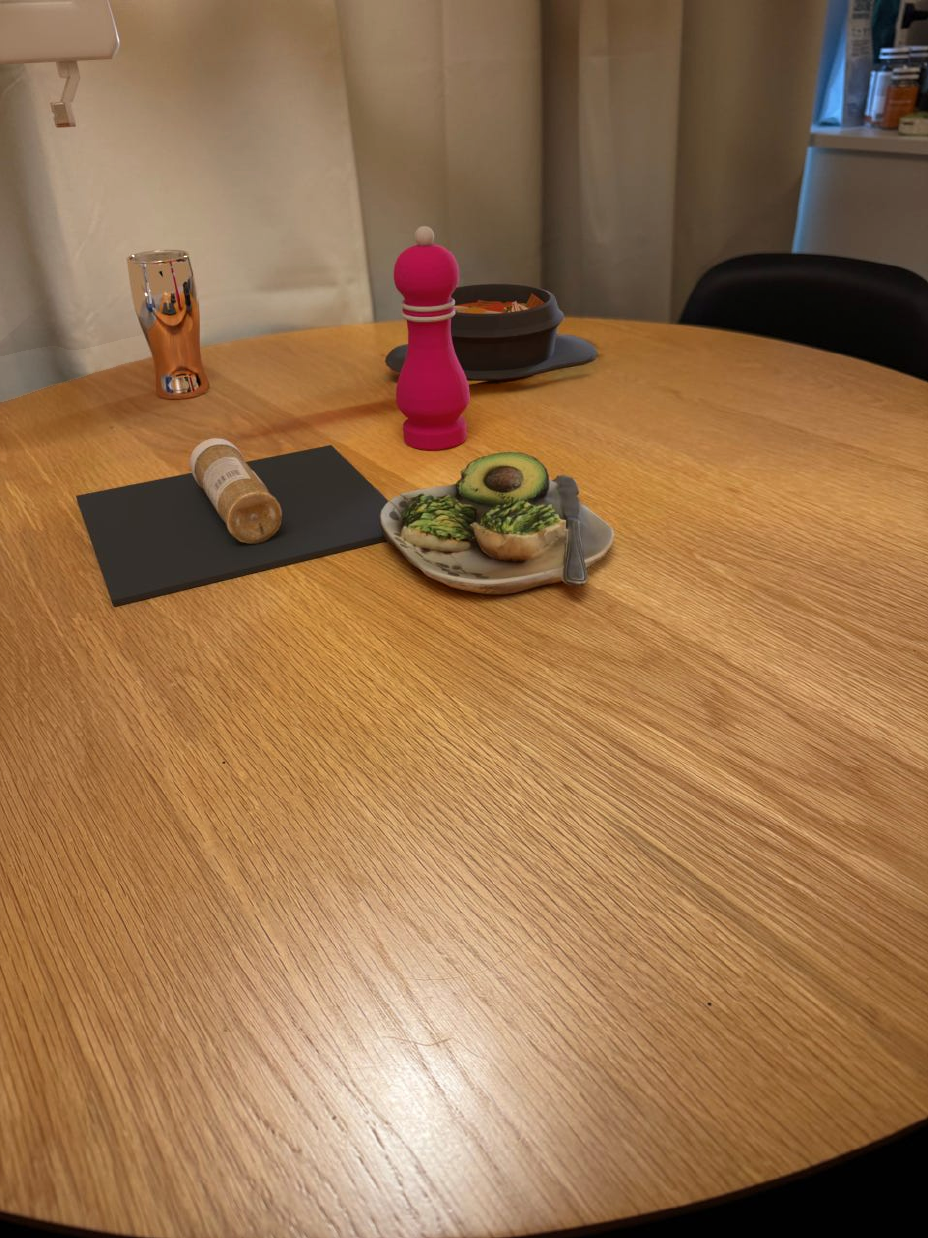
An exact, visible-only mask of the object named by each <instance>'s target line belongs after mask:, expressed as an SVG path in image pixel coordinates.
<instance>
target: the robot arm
mask: <svg viewBox="0 0 928 1238" xmlns="http://www.w3.org/2000/svg"><path fill="white" fill-rule="evenodd" d="M120 44H121V43H120V38H119V33H118V30H117V26H116V21H115V18H114V14H113V11H112V8H111V4H110V0H0V65H17V64H18V65H19V64H39V63H40V64H41V63H55V65H56V69H57V73H58V77H59V78H61V79H66V80H65V83H64V86H63V90H62V93H61V96H60V101H56V102H50V103H49V104H50V108H51V112H52V113H53V114H54V116H53V122H54V125H55V127H56V128H57V129H60V128H75V127H76V126H77V125H76V118H75V114H74V109H73V106H72V103H73V102H74V99H75V96H76V93H77V89H78V86H79V83H80V80H81V75H80V70H79V65H78V62H82V61H100V60H101V61H102V60H103V61H104V60H113V59H115V56H116V55H117V54H118V51H119V49H120V46H121V45H120Z"/></svg>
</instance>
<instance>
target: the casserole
mask: <svg viewBox="0 0 928 1238" xmlns="http://www.w3.org/2000/svg"><path fill="white" fill-rule="evenodd" d="M451 298H453V299H454V300H455V304H454V310H455V315H454V316H453V317H451V337H452V343H453V347H454V351H455V354H456V356H457V358H458V361H459V363H460V365H461V367H462V369H463V371H464V373H465V376H466V379H467V381H481V382H478V385H479V384H481V385H482V384H483V385H490V384H506V383H507V384H508V383H512V382H518V381H521V380H525V379H529V378H532V377H535V376H537V375H541V374H546V373H549V372H552V371H557V370H562V369H566V368H572V367H579V366H584V365H586V364H589V363H591V362H593V361H594V359H596V358H597V355H598V350H597V348H596V346H594V345H593V344H592V343H590V341H588V340H586V339H584V338H582V337H579V336H576V335H573V334H559V333H558V328H559V326H560V324H561V323H562V322H563V321H564V319H565V314H564V312H563V311H562V310H561V309H560V308H559V306H558V303H557V299H556V296H555V295H554V294H553V293H552V292H550V291H548V290H545V289H542V288H539V287H534V286H529V285H521V284H511V283H510V284H509V283H487V284H486V283H485V284H469V285H463V286H457V287H456V289H455V290H454V291H453V293H452V295H451ZM407 349H408V343H405V344H402V345H398V346H396V347H394V348H393V349H391V351H389V352H388V354H387V355H386V356H385V359H384V362H385V364H386V367H388V368H389V369H390V370H391V371H394V372H397V373H398V374H400V373H401V370H402V367H403V365H404V362H405V358H406V355H407Z"/></svg>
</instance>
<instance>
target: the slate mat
mask: <svg viewBox="0 0 928 1238" xmlns="http://www.w3.org/2000/svg"><path fill="white" fill-rule="evenodd" d="M245 462H246V463H247V465H248V466H249V467H250V468H251V470H252V471H254V472H255V474H256V475H257V476H258V477H259V478H260V480H261V481H262V482H263V484H264V485H265V486H266V488H267V489H268V492H269V493H270V494H271V495H272V496H274V497H275V498H276V500H277V501H278V502H279V504H280V506H281V510H282V517H281V518H282V520H281V525H280V527H279V529H278V530H277V532H276V533H275V534H274V535H273V536H272V537H271V538H269V539H267V540H266V541H264V542H260V543H256V544H249V543H243V542H240V541H238V540H237V539H236V538H234V537H233V536H232V535H231V534H230V532H229V531H228V528H227V524H226V523H225V522H224V520H223V519H222V518H221V517H220V515H219V513H218V512H217V510H216V509H215V507H214V505H213V504H212V502H211V501H210V499H209V498H208V496H207V494H206V493H205V491H204V489H203V488H202V487H201V486H200V485H199V484H198V483H197V481H196V480H195V478H194V476H193V474H192V472H188V473H184V474H177V475H173V476H168V477H162V478H158V479H153V480H148V481H143V482H138V483H133V484H128V485H127V484H126V485H122V486H118V487H113V488H108V489H107V488H106V489H103V490H99V491H98V490H97V491H93V492H88V493H83V494H79V495H78V494H77V495H76V496H75V497H76V501H77V504H78V508H79V510H80V513H81V516H82V519H83V522H84V525H85V528H86V530H87V533H88V536H89V540H90V542H91V546H92V548H93V551H94V554H95V557H96V559H97V563H98V566H99V569H100V571H101V574H102V578H103V580H104V583H105V586H106V589H107V592H108V596H109V597H110V601H111V604H112V607H119V606H122V605H123V606H124V605H127V604H131V603H135V602H139V601H143V600H148V599H151V598H156V597H160V596H164V595H168V594H169V595H170V594H172V593H176V592H180V591H185V590H190V589H193V588H197V587H201V586H206V585H210V584H213V583H214V584H215V583H218V582H222V581H226V580H230V579H234V578H238V577H243V576H246V575H251V574H255V573H259V572H264V571H267V570H271V569H276V568H279V567H284V566H288V565H293V564H296V563H300V562H305V561H308V560H314V559H317V558H321V557H325V556H326V557H327V556H329V555H333V554H337V553H342V552H346V551H350V550H351V551H352V550H356V549H358V548H362V547H363V548H364V547H366V546H371V545H375V544H378V543H383V542H388V541H387V540H386V538H385V536H384V534H383V532H382V529H381V524H380V512H381V510H382V509H383V507H384V506H385V504H386V503H387V502H388V501H389V499H387V498H386V497H385V495H383V494H382V493H381V492H380V490H379V489H377V488H376V487H375V486H374V485H373V484H372V483H371V482H370V481H369V480H368V479H367V478H366V477H365V476H364V475H363V474H362V473H361V472H360V471H359V470H358V469H357V468H356V467H355V466H354V465H353V464H352V463H351V462H350V461H349V460H347V458H346V457H344V455H342V453H341V452H339V450H337V449H336V448H335V447H334V446H333V445H332V444H329V445H328V444H327V445H324V446H318V447H313V448H309V449H308V448H307V449H304V450H298V451H293V452H287V453H283V454H279V455H274V456H273V455H272V456H268V457H263V458H258V459H253V460H248V461H245Z"/></svg>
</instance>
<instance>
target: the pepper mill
mask: <svg viewBox="0 0 928 1238" xmlns="http://www.w3.org/2000/svg"><path fill="white" fill-rule="evenodd" d="M434 241H435V233H434V231H433V229H432V228H431V227H430V226H427V225H422V226H419V227H418V228H417V229H416V230H415V232H414V242H415V243H416V244H414V245H412V246H410V247H408V248H405V249H404V250H403V251H402V252H401V253H400V254H399V255H398V257H397V259H396V261H395V263H394V267H393V282H394V285H395V288H396V290H397V291H398V292H399V294H401V296H402V297H403V300H401V302H400V306H401V309H402V312H401V318H403V319H404V320H406V327H407V344H408V349H407V355H406V358H405V362H404V365H403V367H402V370H401V373H399V376H398V379H397V382H396V388H395V403H396V406H397V408H398V410H399V411H400V412H401V414H402V415H403V416H404V417H406V419H405V420H404V421H403V423H402V433H403V442H404V443H405V444H406V445H407V446H409V447H411V448H413V449H417V450H422V451H441V450H442V451H443V450H447V449H452V448H456V447H458V446H459V445H461V444H463V443H464V442H465V441H466V439H467V421H466V419H465V418H464V417H463V416H462V414H463V413H464V412H466V410H467V408H468V407H469V404H470V401H471V394H470V393H471V392H470V385H469V383H468V380H467V379H466V376H465V373H464V371H463V369H462V367H461V365H460V363H459V361H458V358H457V356H456V354H455V351H454V347H453V343H452V337H451V317H453V316H454V315H455V310H454V304H455V300H454V299H453V298H451V295H452V293H453V291H454V290H455V289H456V288H457V287H458V285H459V283H460V268H459V264H458V261H457V259H456V257H455V256H454V255H453V253H452V252H451V251H450V250H448V249H447V248H446V247H444V246H442V245H438V244H435V243H434Z"/></svg>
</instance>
